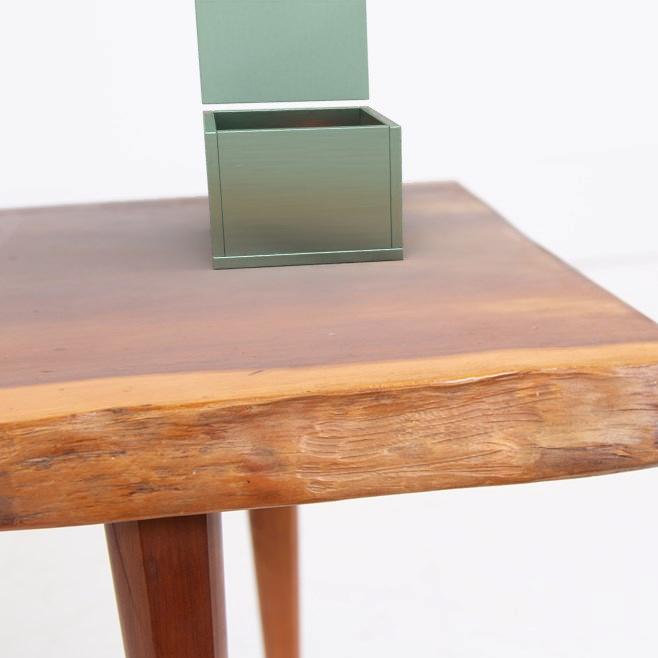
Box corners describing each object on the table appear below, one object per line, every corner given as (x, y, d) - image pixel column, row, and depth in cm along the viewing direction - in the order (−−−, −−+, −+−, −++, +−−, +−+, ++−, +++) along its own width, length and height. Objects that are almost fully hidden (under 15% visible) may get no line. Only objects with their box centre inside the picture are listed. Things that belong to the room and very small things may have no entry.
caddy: (403, 259, 75) (401, 125, 72) (213, 269, 73) (204, 131, 70) (371, 220, 89) (368, 105, 86) (210, 227, 87) (202, 110, 84)
